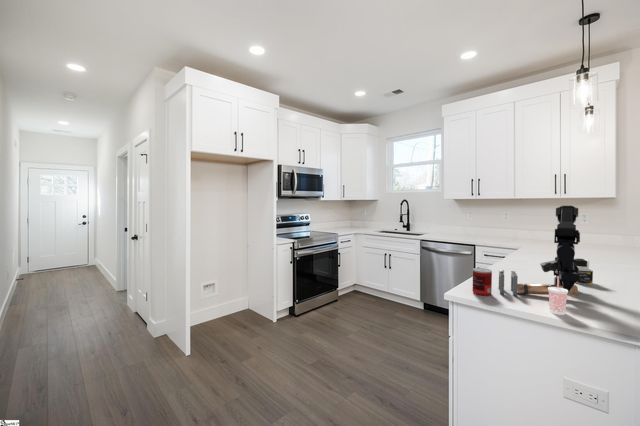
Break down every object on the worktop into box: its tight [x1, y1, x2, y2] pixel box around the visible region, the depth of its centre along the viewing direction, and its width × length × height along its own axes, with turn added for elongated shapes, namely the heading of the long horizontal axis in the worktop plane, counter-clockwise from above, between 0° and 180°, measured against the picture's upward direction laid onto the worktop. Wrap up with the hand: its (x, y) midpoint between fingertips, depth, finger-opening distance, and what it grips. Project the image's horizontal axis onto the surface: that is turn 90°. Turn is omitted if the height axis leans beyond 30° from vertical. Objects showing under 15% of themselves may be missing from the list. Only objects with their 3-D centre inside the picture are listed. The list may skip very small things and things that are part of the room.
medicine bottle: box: [574, 258, 594, 286], centre depth 152 cm, size 7×7×12 cm
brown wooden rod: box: [517, 283, 579, 297], centre depth 131 cm, size 21×4×4 cm, turn 62°
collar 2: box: [510, 270, 519, 297], centre depth 136 cm, size 2×10×9 cm, turn 152°
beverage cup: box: [548, 276, 568, 316], centre depth 113 cm, size 6×6×14 cm
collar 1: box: [498, 269, 505, 296], centre depth 138 cm, size 2×10×10 cm, turn 152°
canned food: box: [472, 267, 493, 297], centre depth 136 cm, size 8×8×11 cm
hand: (564, 292), depth 128 cm, fingers closed on brown wooden rod, 4 cm apart
